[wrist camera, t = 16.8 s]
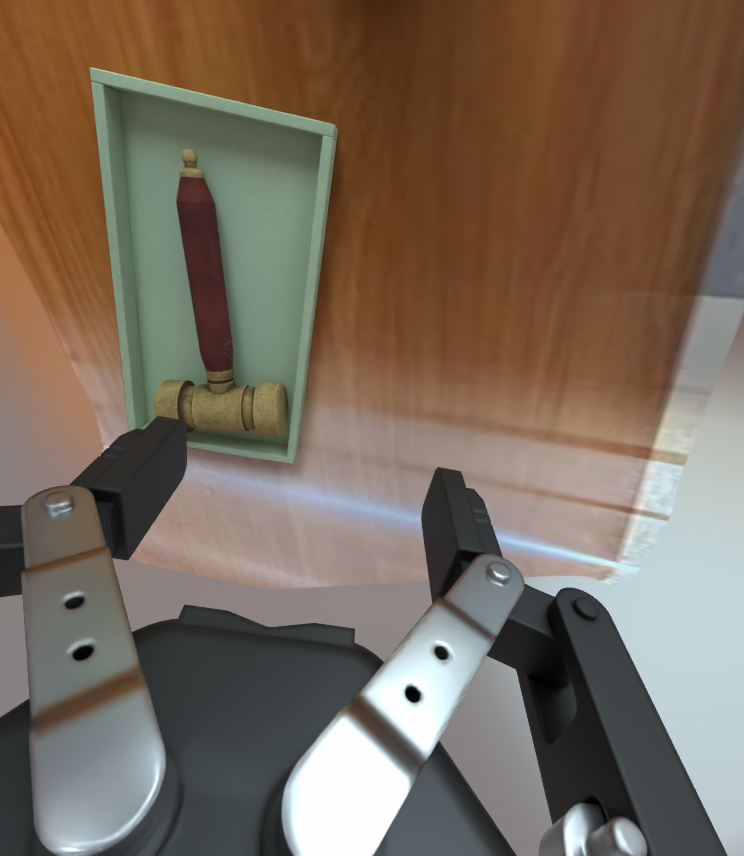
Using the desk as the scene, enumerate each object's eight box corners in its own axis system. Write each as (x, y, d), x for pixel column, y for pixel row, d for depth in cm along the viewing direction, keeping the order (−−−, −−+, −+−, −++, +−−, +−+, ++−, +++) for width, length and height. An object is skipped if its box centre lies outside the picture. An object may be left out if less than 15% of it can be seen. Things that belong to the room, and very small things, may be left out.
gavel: (91, 139, 26) (254, 143, 26) (130, 152, 30) (271, 155, 30) (159, 442, 35) (279, 445, 35) (182, 419, 39) (289, 422, 39)
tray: (112, 77, 27) (88, 66, 25) (338, 129, 28) (335, 124, 26) (143, 424, 40) (129, 438, 38) (297, 449, 41) (293, 464, 39)
